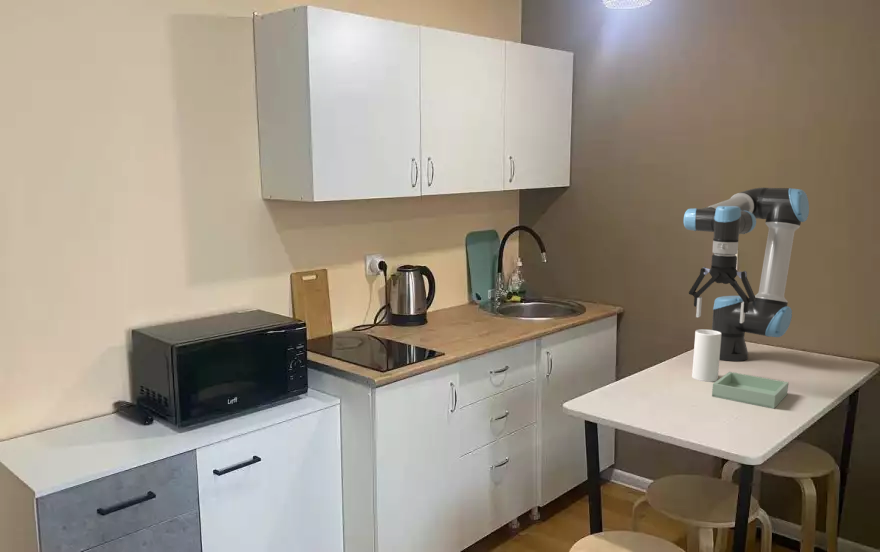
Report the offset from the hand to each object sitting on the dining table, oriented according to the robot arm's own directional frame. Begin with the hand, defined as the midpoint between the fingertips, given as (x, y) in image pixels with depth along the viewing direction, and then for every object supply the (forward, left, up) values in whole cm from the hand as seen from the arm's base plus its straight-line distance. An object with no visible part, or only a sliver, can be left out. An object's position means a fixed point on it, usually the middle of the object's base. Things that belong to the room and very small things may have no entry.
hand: (719, 319), depth 234 cm
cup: (-6, -5, -22) cm, 23 cm away
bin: (+4, +12, -22) cm, 25 cm away
